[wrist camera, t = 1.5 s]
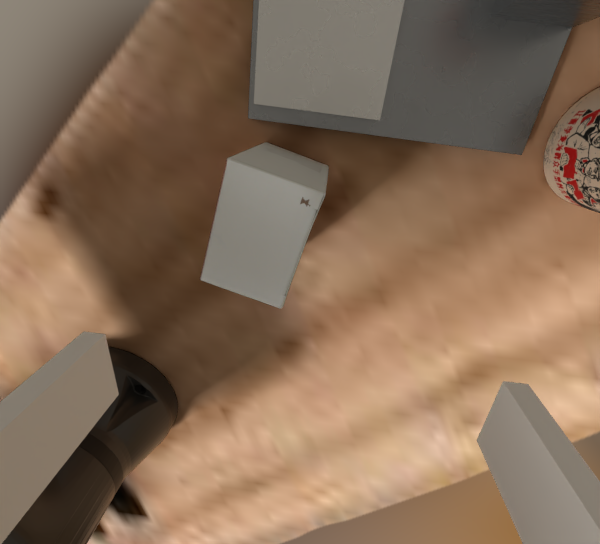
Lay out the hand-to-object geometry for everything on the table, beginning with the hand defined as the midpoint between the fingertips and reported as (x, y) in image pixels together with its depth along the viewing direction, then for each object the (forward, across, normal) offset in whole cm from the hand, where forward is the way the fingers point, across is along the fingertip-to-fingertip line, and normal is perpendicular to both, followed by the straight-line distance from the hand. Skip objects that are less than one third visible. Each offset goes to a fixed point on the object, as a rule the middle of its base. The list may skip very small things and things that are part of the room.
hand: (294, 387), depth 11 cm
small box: (+20, -3, +2) cm, 20 cm away
